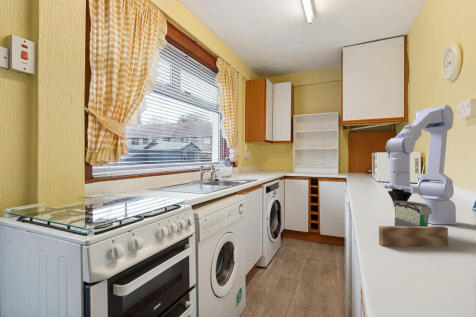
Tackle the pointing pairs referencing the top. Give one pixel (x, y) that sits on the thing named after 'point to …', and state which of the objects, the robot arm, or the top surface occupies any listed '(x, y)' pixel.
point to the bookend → (403, 223)
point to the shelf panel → (413, 236)
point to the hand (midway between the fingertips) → (399, 211)
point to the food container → (412, 212)
